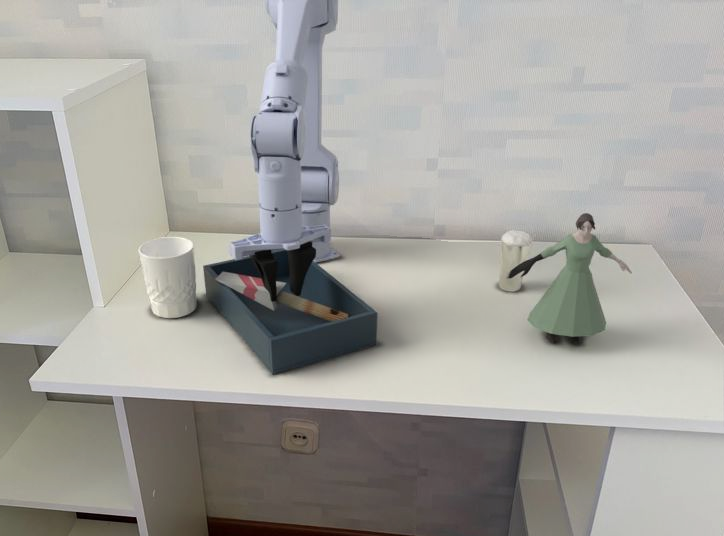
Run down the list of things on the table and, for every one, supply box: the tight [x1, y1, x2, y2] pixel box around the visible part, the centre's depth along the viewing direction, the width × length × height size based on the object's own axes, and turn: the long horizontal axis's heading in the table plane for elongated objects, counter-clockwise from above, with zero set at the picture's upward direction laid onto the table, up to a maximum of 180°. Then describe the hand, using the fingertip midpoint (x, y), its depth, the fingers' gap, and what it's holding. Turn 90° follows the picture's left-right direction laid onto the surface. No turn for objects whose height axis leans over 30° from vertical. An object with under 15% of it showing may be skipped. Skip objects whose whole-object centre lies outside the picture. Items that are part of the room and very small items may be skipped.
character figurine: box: [506, 212, 632, 345], centre depth 93 cm, size 16×8×18 cm, turn 83°
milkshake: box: [498, 229, 538, 292], centre depth 108 cm, size 4×5×10 cm
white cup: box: [138, 236, 198, 319], centre depth 105 cm, size 8×8×10 cm
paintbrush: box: [215, 272, 349, 321], centre depth 102 cm, size 4×3×20 cm
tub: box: [202, 249, 378, 375], centre depth 102 cm, size 26×16×5 cm, turn 26°
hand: (283, 296), depth 102 cm, fingers closed on paintbrush, 3 cm apart
